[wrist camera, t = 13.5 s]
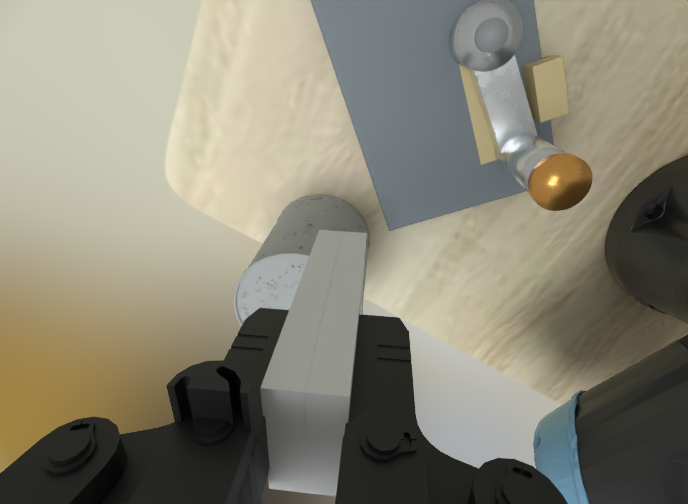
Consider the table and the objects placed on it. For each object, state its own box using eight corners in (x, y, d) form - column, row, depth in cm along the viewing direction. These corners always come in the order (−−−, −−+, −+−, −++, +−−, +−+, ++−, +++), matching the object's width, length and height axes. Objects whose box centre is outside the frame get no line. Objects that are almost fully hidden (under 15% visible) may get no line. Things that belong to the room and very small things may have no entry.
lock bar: (440, 21, 29) (464, 9, 20) (501, -11, 28) (553, -39, 19) (494, 177, 34) (531, 221, 25) (547, 155, 33) (606, 194, 24)
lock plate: (560, 175, 35) (588, 195, 30) (389, 225, 38) (389, 250, 34) (512, -176, 25) (542, -230, 20) (290, -64, 29) (271, -87, 24)
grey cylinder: (354, 290, 42) (343, 375, 31) (267, 266, 42) (225, 343, 31) (381, 210, 38) (379, 275, 27) (284, 182, 37) (243, 236, 26)
